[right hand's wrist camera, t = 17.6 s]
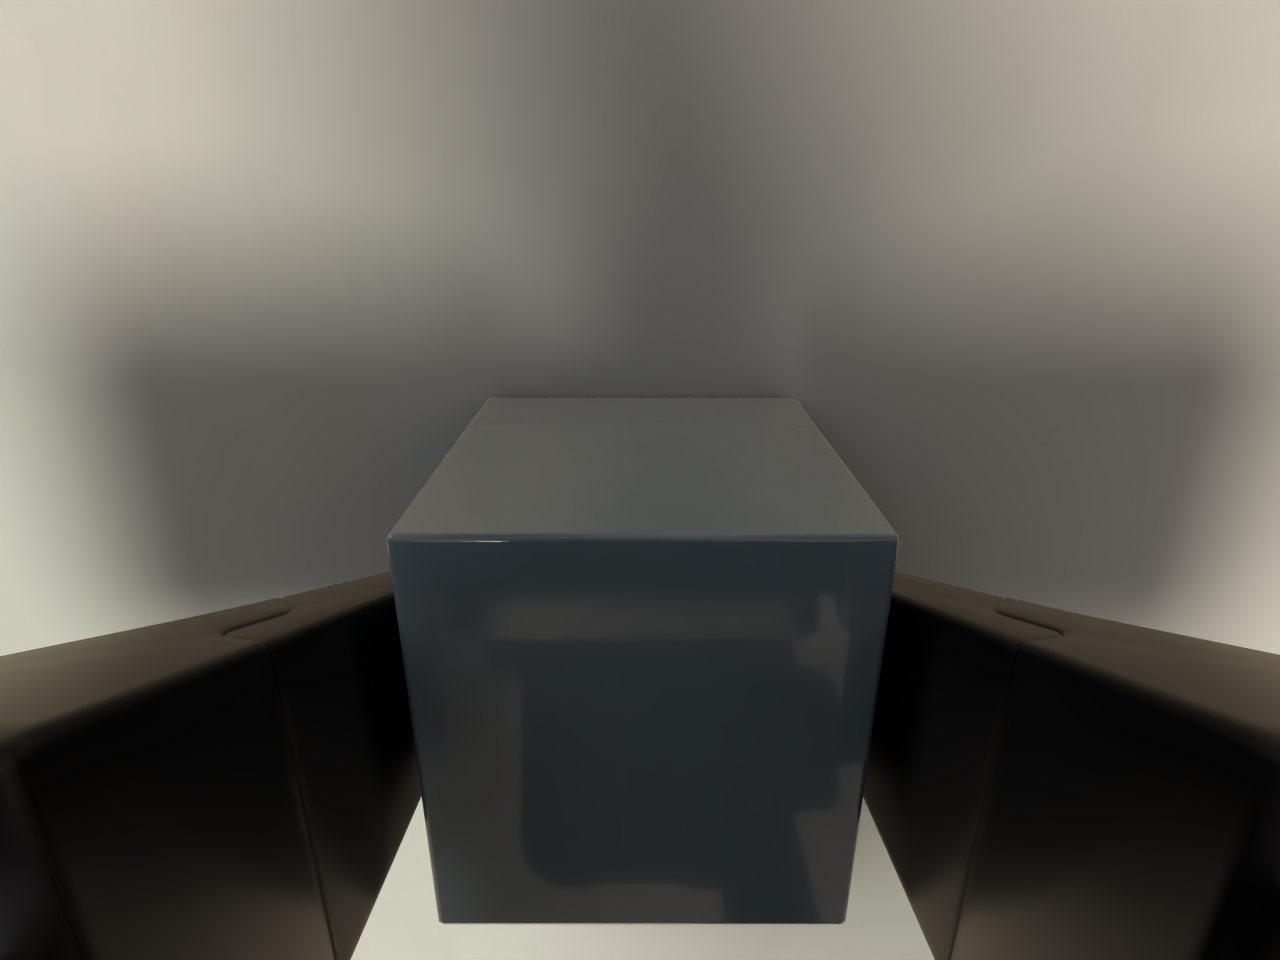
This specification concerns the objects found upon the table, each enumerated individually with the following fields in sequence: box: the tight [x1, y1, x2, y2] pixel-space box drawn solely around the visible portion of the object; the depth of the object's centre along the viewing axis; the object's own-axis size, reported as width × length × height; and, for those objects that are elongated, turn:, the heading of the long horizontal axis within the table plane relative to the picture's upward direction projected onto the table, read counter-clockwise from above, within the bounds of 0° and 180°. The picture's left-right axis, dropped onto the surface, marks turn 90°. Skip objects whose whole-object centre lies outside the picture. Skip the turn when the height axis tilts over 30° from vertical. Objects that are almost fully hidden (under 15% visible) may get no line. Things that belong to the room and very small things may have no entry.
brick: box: [386, 397, 899, 924], centre depth 10 cm, size 5×5×5 cm
